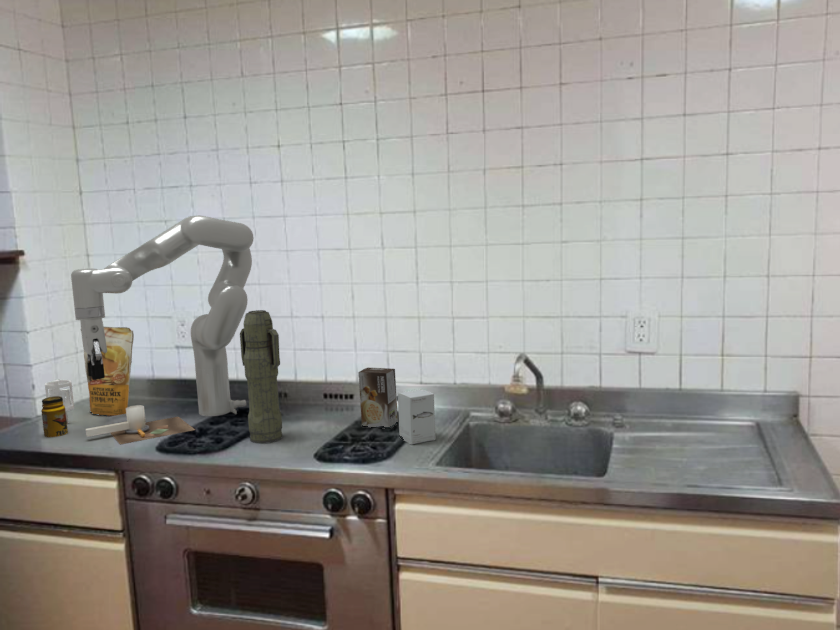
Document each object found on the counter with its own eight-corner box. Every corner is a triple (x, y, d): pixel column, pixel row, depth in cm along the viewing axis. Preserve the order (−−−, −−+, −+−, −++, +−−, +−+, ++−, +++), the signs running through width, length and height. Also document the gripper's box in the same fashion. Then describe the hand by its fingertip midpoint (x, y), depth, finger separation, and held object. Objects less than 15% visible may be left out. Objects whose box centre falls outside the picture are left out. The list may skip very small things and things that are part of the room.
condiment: (71, 439, 201) (66, 398, 199) (37, 446, 196) (32, 403, 194) (67, 433, 207) (63, 393, 205) (35, 439, 202) (30, 398, 200)
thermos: (277, 444, 188) (267, 313, 183) (238, 441, 192) (228, 313, 187) (293, 434, 196) (285, 309, 192) (256, 432, 200) (247, 309, 196)
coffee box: (399, 423, 203) (396, 368, 201) (389, 429, 198) (387, 373, 195) (370, 420, 207) (367, 366, 205) (360, 427, 201) (357, 371, 199)
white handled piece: (146, 425, 205) (144, 403, 204) (155, 434, 196) (153, 411, 195) (85, 436, 196) (82, 413, 195) (92, 446, 187) (89, 422, 186)
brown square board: (178, 421, 215) (178, 416, 215) (195, 434, 200) (195, 429, 200) (107, 434, 204) (107, 429, 204) (120, 449, 189) (119, 444, 189)
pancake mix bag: (97, 409, 234) (88, 325, 230) (143, 412, 227) (134, 326, 223) (81, 414, 228) (71, 328, 224) (127, 418, 221) (118, 329, 217)
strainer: (48, 432, 209) (42, 382, 207) (52, 425, 216) (46, 377, 214) (74, 429, 211) (69, 379, 209) (77, 422, 218) (72, 375, 216)
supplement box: (411, 445, 183) (409, 397, 181) (398, 438, 189) (396, 392, 188) (436, 440, 186) (434, 393, 184) (423, 433, 193) (421, 387, 191)
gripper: (110, 314, 193) (116, 380, 195) (99, 309, 207) (105, 370, 209) (80, 317, 189) (87, 384, 191) (70, 312, 203) (77, 374, 205)
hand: (96, 376), depth 200 cm, fingers open, 5 cm apart
